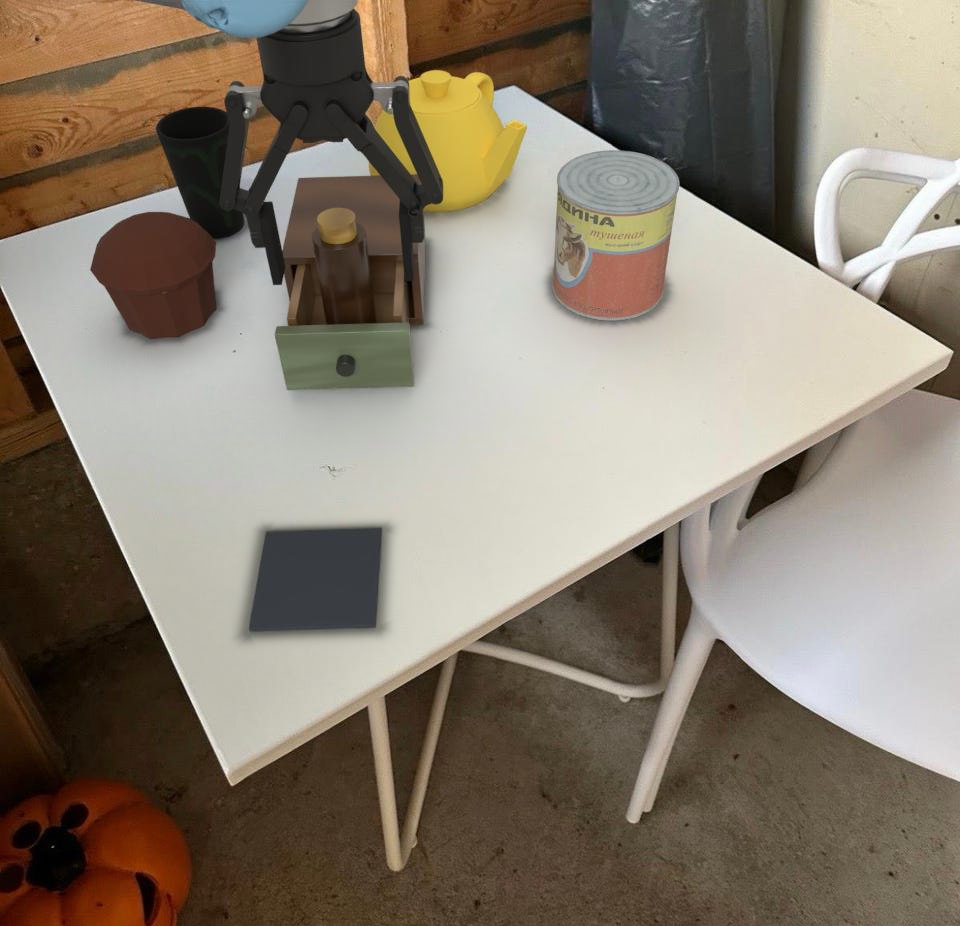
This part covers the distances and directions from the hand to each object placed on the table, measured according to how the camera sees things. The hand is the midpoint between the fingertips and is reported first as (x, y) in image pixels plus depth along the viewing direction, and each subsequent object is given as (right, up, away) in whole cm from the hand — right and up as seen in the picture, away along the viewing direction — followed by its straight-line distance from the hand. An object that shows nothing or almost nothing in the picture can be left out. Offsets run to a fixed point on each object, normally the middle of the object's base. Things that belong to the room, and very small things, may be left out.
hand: (344, 274), depth 81 cm
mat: (0, -25, -12) cm, 28 cm away
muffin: (-19, -2, +12) cm, 22 cm away
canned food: (+25, +1, +13) cm, 28 cm away
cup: (-17, +10, +23) cm, 30 cm away
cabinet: (0, +2, +14) cm, 15 cm away
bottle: (0, -5, +5) cm, 7 cm away
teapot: (+9, +17, +28) cm, 34 cm away
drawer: (0, -6, +6) cm, 8 cm away
